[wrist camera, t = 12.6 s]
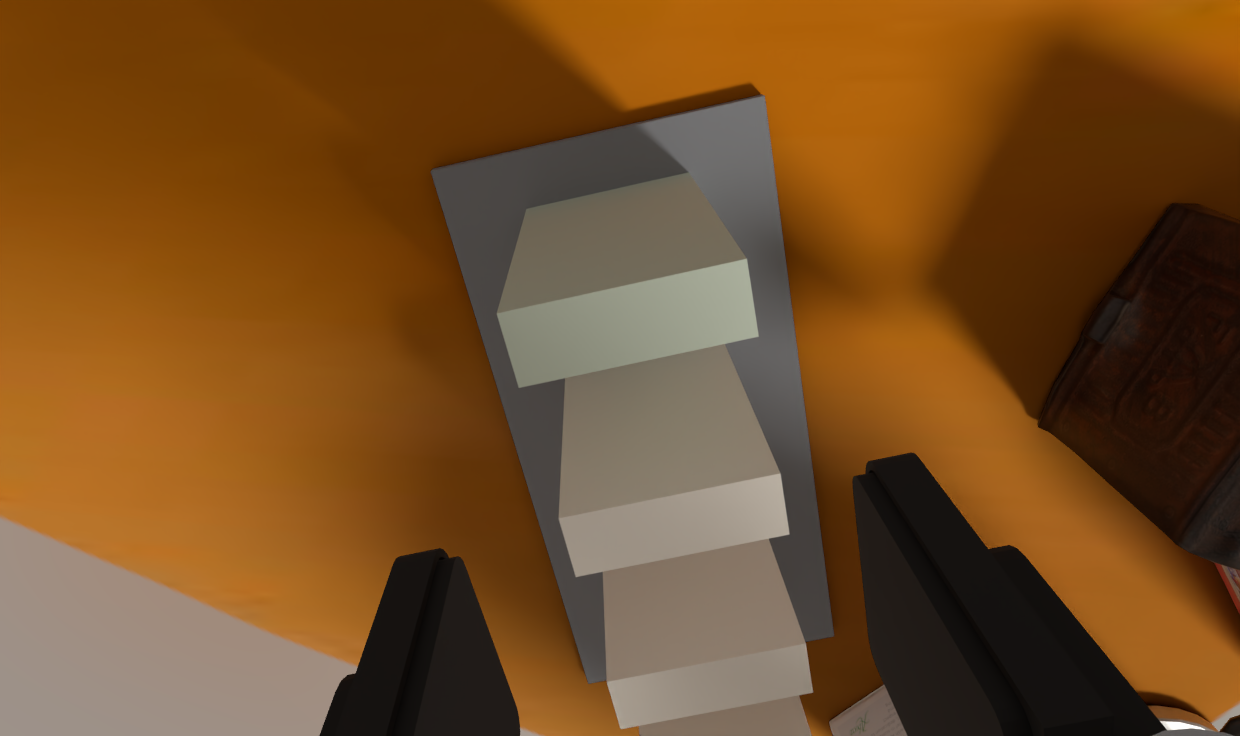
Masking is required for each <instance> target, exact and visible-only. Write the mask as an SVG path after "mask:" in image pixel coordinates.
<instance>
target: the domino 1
mask: <svg viewBox="0 0 1240 736" xmlns="http://www.w3.org/2000/svg"><path fill="white" fill-rule="evenodd" d="M497 317H498V320H499V323H500V327H501V330H502V333H503V337H504V340H505V343H506V347H507V350H508V353H509V357H510V360H511V363H512V367H513V370H514V373H515V377H516V380H517V384H518V387H519V388H521V387H526V386H530V385H535V384H540V383H544V382H549V381H554V380H558V379H563V378H568V377H572V376H577V375H582V374H586V373H591V372H596V371H601V370H605V369H610V368H615V367H619V366H624V365H629V364H633V363H638V362H643V361H647V360H652V359H657V358H661V357H666V356H671V355H675V354H680V353H685V352H689V351H694V350H699V349H703V348H708V347H713V346H717V345H722V344H727V343H731V342H736V341H741V340H745V339H750V338H755V337H759V335H758V328H757V322H756V315H755V309H754V302H753V295H752V289H751V282H750V276H749V269H748V263H747V258H746V257H745V255H744V254H743V252H742V251H741V249H740V248H739V246H738V245H737V243H736V242H735V240H734V239H733V237H732V236H731V234H730V233H729V231H728V230H727V228H726V227H725V225H724V224H723V222H722V221H721V219H720V218H719V217H718V215H717V214H716V212H715V211H714V209H713V208H712V206H711V205H710V203H709V202H708V200H707V199H706V197H705V196H704V194H703V193H702V191H701V190H700V188H699V187H698V185H697V184H696V182H695V181H694V179H693V178H692V176H691V175H690V173H689V172H688V173H683V174H679V175H674V176H670V177H666V178H661V179H657V180H652V181H648V182H643V183H639V184H634V185H630V186H626V187H621V188H617V189H612V190H608V191H603V192H599V193H594V194H590V195H586V196H581V197H577V198H572V199H568V200H563V201H559V202H554V203H550V204H546V205H541V206H537V207H532V208H528V209H526V212H525V216H524V219H523V223H522V226H521V230H520V233H519V237H518V240H517V244H516V247H515V251H514V254H513V258H512V261H511V265H510V268H509V272H508V275H507V279H506V282H505V286H504V289H503V293H502V296H501V300H500V303H499V307H498V310H497Z"/></svg>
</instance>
